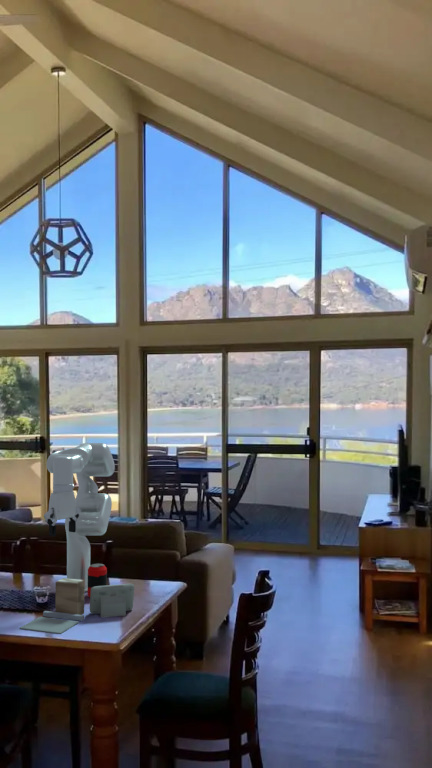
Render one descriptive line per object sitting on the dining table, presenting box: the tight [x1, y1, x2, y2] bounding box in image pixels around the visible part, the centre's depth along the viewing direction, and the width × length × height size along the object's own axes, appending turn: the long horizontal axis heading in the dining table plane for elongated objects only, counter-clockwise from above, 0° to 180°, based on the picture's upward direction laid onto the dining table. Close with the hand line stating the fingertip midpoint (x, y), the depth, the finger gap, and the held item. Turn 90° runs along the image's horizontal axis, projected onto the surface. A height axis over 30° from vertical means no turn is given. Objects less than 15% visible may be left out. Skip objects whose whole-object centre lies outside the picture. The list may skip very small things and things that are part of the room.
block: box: [54, 577, 85, 615], centre depth 237 cm, size 5×9×12 cm, turn 71°
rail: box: [42, 610, 85, 622], centre depth 233 cm, size 2×16×2 cm, turn 71°
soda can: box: [87, 563, 108, 598], centre depth 261 cm, size 8×8×12 cm
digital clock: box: [89, 583, 135, 619], centre depth 238 cm, size 16×9×11 cm, turn 95°
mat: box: [19, 616, 80, 635], centre depth 225 cm, size 12×16×1 cm
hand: (62, 533), depth 247 cm, fingers open, 9 cm apart
